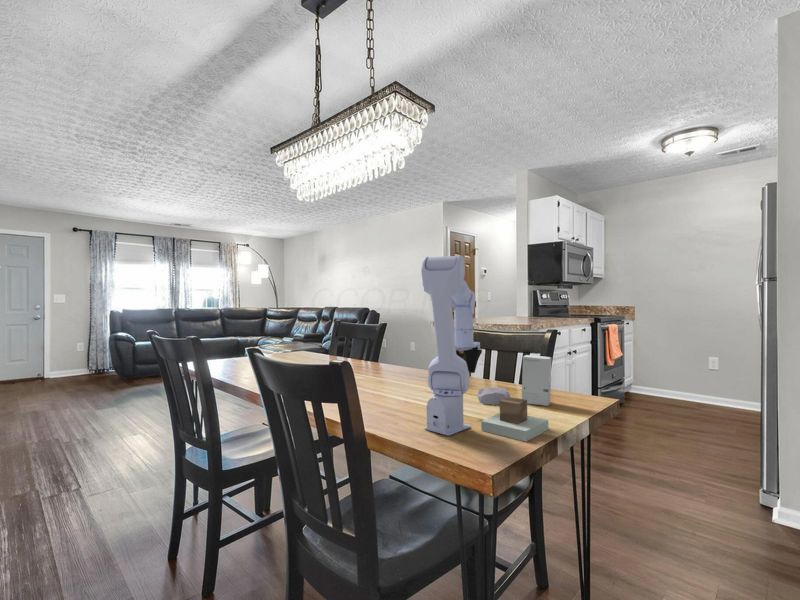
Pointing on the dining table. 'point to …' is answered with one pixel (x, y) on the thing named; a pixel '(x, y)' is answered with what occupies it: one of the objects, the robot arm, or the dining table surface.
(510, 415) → the walnut cube
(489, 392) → the stone block
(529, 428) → the sage board block
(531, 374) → the skincare box
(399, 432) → the dining table surface
